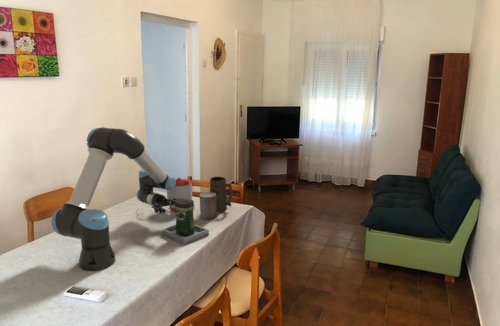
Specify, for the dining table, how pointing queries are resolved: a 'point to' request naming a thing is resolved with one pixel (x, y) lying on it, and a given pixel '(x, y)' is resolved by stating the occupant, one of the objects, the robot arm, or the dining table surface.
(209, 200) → the pillar candle
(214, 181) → the beer stein
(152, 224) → the dining table surface
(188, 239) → the tray
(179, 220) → the coffee jar
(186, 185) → the citrus juicer
